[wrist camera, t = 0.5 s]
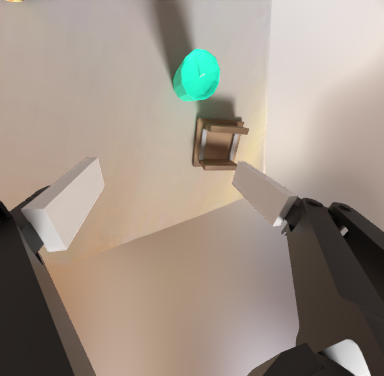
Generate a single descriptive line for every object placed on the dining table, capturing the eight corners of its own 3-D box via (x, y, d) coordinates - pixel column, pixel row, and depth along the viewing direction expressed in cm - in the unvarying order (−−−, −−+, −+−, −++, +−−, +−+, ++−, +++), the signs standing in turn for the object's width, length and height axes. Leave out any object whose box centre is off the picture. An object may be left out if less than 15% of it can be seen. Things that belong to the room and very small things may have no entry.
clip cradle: (197, 117, 33) (205, 120, 28) (241, 121, 36) (256, 124, 31) (192, 165, 39) (198, 174, 34) (231, 165, 42) (241, 173, 37)
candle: (206, 84, 30) (232, 74, 20) (187, 107, 31) (203, 109, 21) (185, 57, 27) (204, 29, 17) (166, 84, 28) (173, 74, 18)
